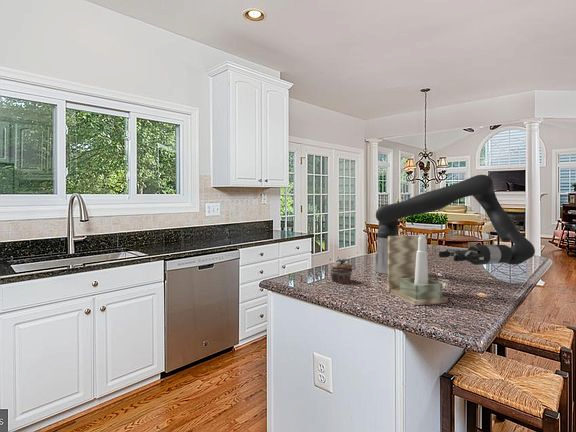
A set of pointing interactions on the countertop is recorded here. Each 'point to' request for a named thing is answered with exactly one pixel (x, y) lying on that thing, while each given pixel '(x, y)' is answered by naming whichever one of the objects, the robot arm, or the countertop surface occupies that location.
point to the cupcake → (341, 271)
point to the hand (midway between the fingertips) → (446, 256)
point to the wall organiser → (409, 273)
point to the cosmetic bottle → (421, 262)
